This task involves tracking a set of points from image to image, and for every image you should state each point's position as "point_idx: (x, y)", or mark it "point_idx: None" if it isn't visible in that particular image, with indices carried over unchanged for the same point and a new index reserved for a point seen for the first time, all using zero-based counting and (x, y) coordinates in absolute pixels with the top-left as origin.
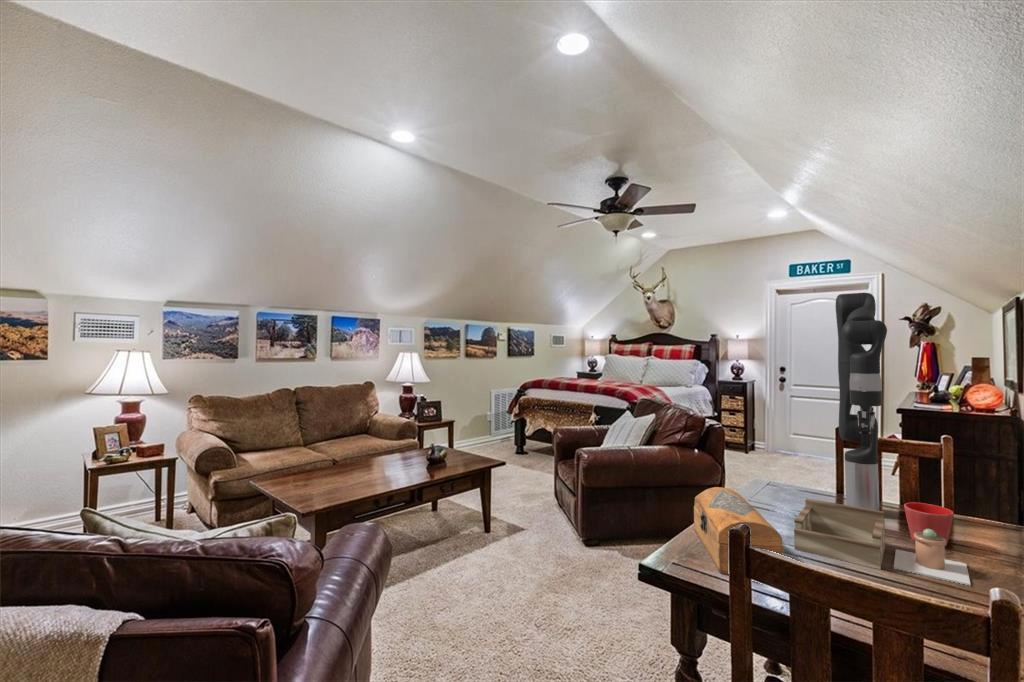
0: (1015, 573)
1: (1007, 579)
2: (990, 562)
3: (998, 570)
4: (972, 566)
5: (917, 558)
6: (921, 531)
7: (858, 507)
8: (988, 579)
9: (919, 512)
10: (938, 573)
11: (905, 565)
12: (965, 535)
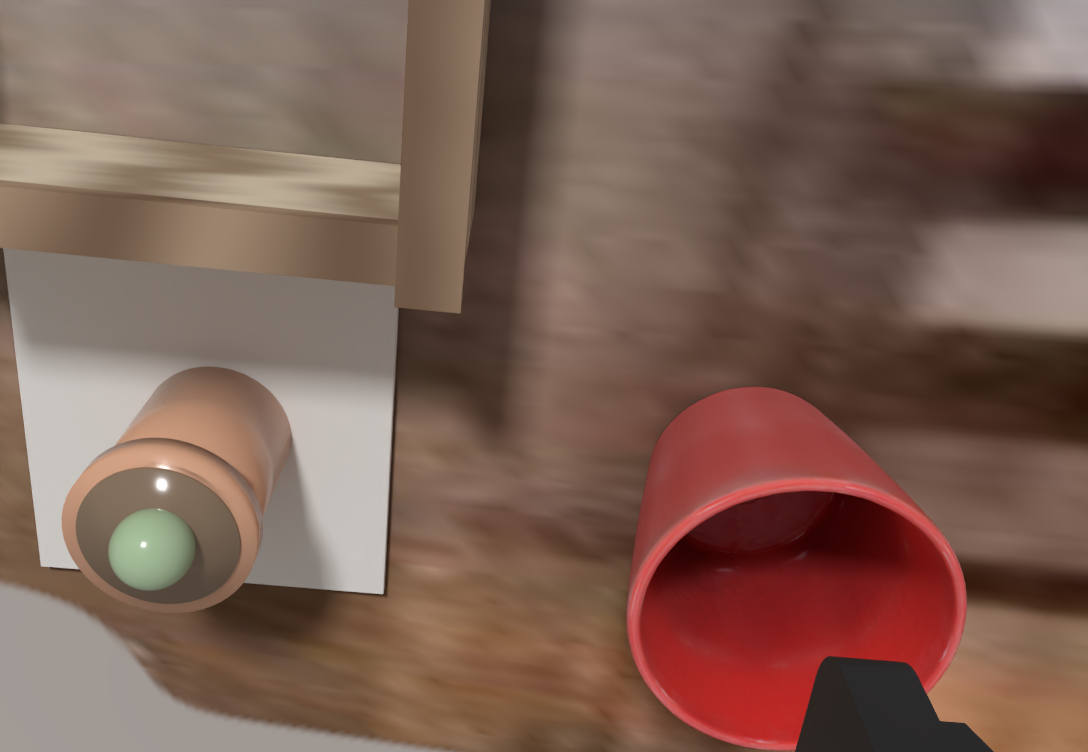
0: (420, 747)
1: (297, 706)
2: (529, 688)
3: (415, 697)
4: (395, 609)
5: (167, 388)
6: (654, 477)
7: (465, 92)
8: (230, 640)
9: (646, 558)
10: (90, 454)
11: (87, 306)
12: (1001, 659)
